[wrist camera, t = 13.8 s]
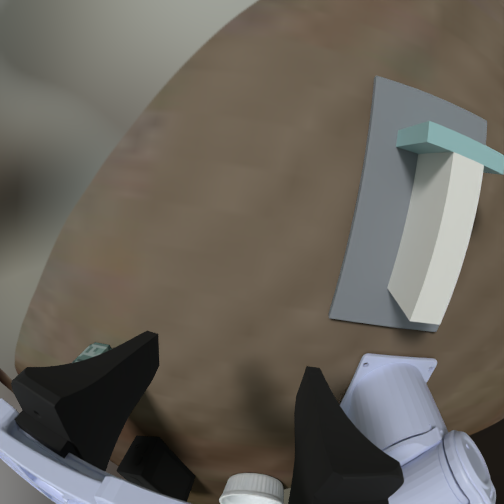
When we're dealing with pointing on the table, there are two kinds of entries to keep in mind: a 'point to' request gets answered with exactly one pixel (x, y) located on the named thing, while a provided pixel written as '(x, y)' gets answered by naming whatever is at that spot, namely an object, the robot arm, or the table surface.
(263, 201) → the table surface
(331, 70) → the table surface
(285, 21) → the table surface
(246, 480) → the ramekin
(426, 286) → the two-tone t-shaped block
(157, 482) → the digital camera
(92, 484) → the robot arm
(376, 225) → the tool mat
